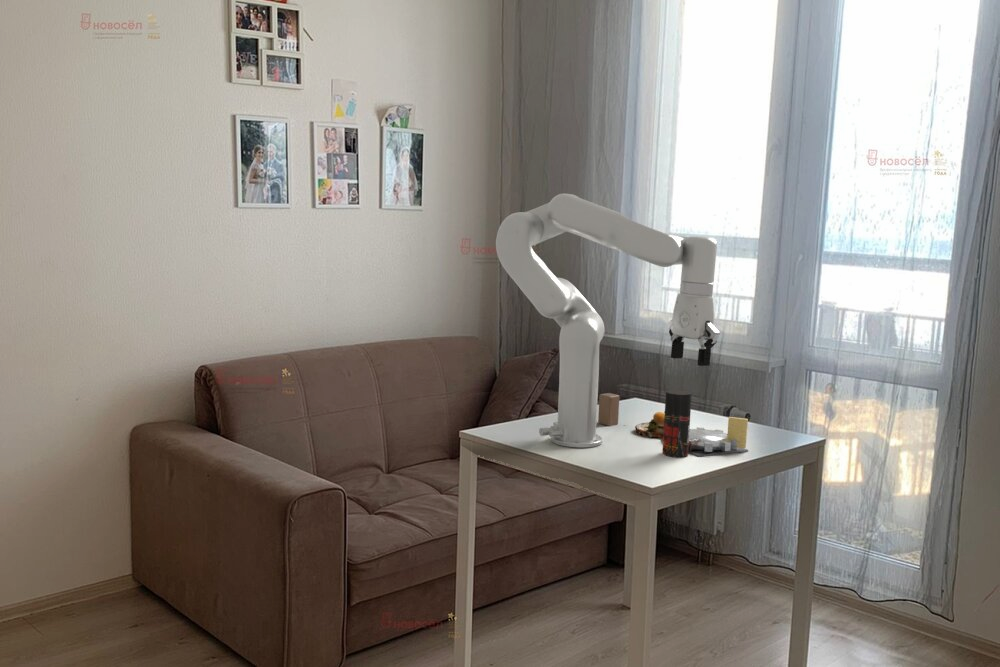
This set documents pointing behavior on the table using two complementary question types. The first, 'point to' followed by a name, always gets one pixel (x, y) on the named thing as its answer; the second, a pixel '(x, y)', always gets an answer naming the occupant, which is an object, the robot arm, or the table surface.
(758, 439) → the table surface
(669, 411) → the deodorant
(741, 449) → the plate
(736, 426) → the sprocket
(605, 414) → the wooden block
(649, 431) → the burger
